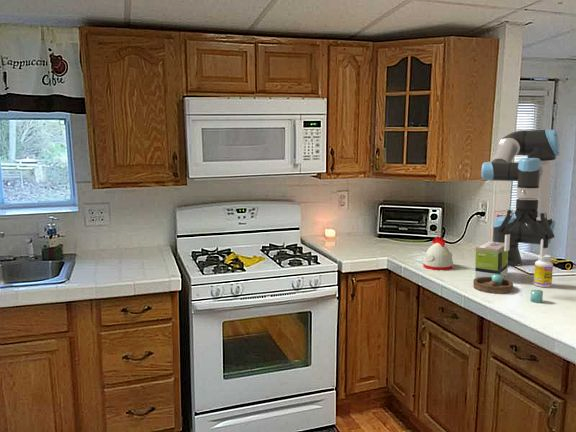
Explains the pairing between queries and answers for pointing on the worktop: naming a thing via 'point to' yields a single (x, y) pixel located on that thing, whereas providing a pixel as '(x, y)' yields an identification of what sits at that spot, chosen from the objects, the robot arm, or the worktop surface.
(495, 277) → the teal bead
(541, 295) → the teal bead
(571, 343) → the worktop surface
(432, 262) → the kitchen timer
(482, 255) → the tea box
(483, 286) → the walnut tray
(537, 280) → the supplement bottle
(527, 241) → the robot arm
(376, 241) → the worktop surface
